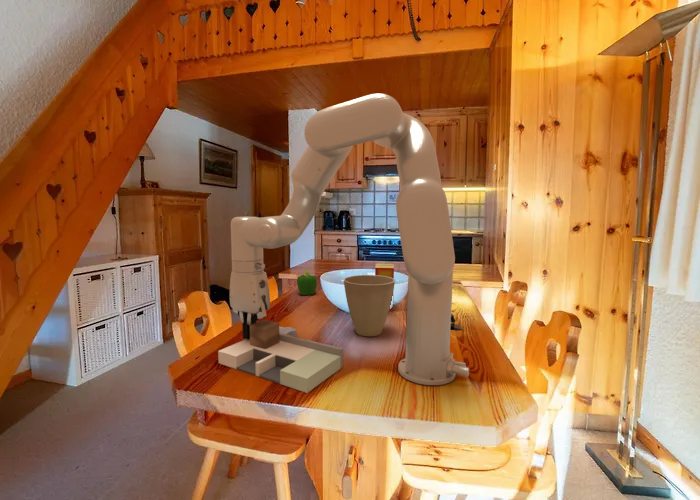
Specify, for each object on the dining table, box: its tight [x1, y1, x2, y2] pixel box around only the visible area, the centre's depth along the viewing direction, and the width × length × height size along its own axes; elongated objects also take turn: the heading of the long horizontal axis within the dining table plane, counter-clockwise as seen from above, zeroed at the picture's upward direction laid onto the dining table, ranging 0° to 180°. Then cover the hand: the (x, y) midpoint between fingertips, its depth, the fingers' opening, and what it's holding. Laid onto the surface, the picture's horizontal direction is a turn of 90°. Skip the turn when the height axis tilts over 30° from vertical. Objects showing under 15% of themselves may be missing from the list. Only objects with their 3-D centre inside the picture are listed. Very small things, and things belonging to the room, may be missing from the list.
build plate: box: [450, 312, 464, 331], centre depth 110 cm, size 12×7×5 cm, turn 88°
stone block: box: [279, 325, 298, 337], centre depth 98 cm, size 12×5×10 cm
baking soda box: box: [374, 263, 395, 313], centre depth 129 cm, size 10×6×16 cm
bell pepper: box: [296, 269, 318, 296], centre depth 149 cm, size 8×8×10 cm
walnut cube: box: [250, 319, 280, 349], centre depth 87 cm, size 5×5×5 cm
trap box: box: [217, 333, 344, 394], centre depth 82 cm, size 26×14×4 cm, turn 60°
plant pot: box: [343, 274, 396, 337], centre depth 104 cm, size 15×15×16 cm
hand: (249, 337), depth 90 cm, fingers closed
